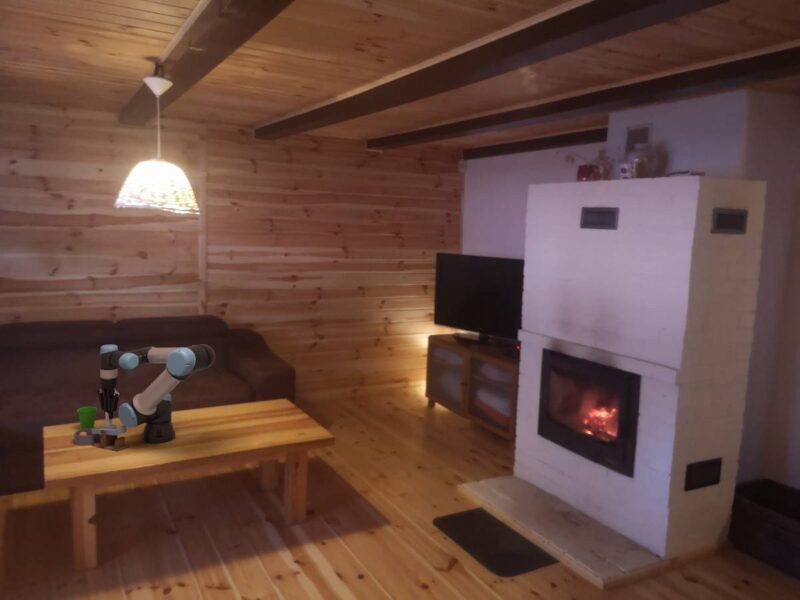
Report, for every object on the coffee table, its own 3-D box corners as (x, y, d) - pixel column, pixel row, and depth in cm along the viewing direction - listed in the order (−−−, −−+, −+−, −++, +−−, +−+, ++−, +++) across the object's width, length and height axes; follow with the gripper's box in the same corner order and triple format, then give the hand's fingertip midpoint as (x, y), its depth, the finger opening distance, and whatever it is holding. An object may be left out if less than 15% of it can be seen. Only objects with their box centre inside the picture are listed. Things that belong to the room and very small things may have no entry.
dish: (106, 439, 304) (106, 430, 303) (86, 446, 293) (86, 437, 293) (88, 435, 308) (88, 426, 307) (69, 442, 297) (68, 433, 297)
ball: (89, 436, 302) (87, 429, 302) (83, 438, 299) (80, 431, 299) (85, 438, 304) (82, 432, 304) (78, 441, 300) (76, 434, 301)
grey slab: (136, 428, 300) (136, 422, 300) (117, 435, 289) (117, 429, 289) (110, 426, 306) (110, 420, 306) (91, 433, 295) (90, 427, 295)
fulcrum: (130, 446, 297) (130, 428, 296) (115, 452, 288) (115, 434, 287) (104, 440, 302) (104, 423, 301) (89, 446, 294) (89, 428, 293)
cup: (89, 434, 310) (89, 412, 309) (73, 432, 312) (72, 410, 310) (101, 428, 319) (101, 407, 317) (85, 426, 321) (85, 405, 319)
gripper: (125, 377, 301) (125, 425, 304) (104, 373, 306) (104, 420, 309) (113, 380, 294) (112, 429, 298) (92, 376, 299) (92, 424, 302)
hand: (108, 424), depth 303 cm, fingers closed
